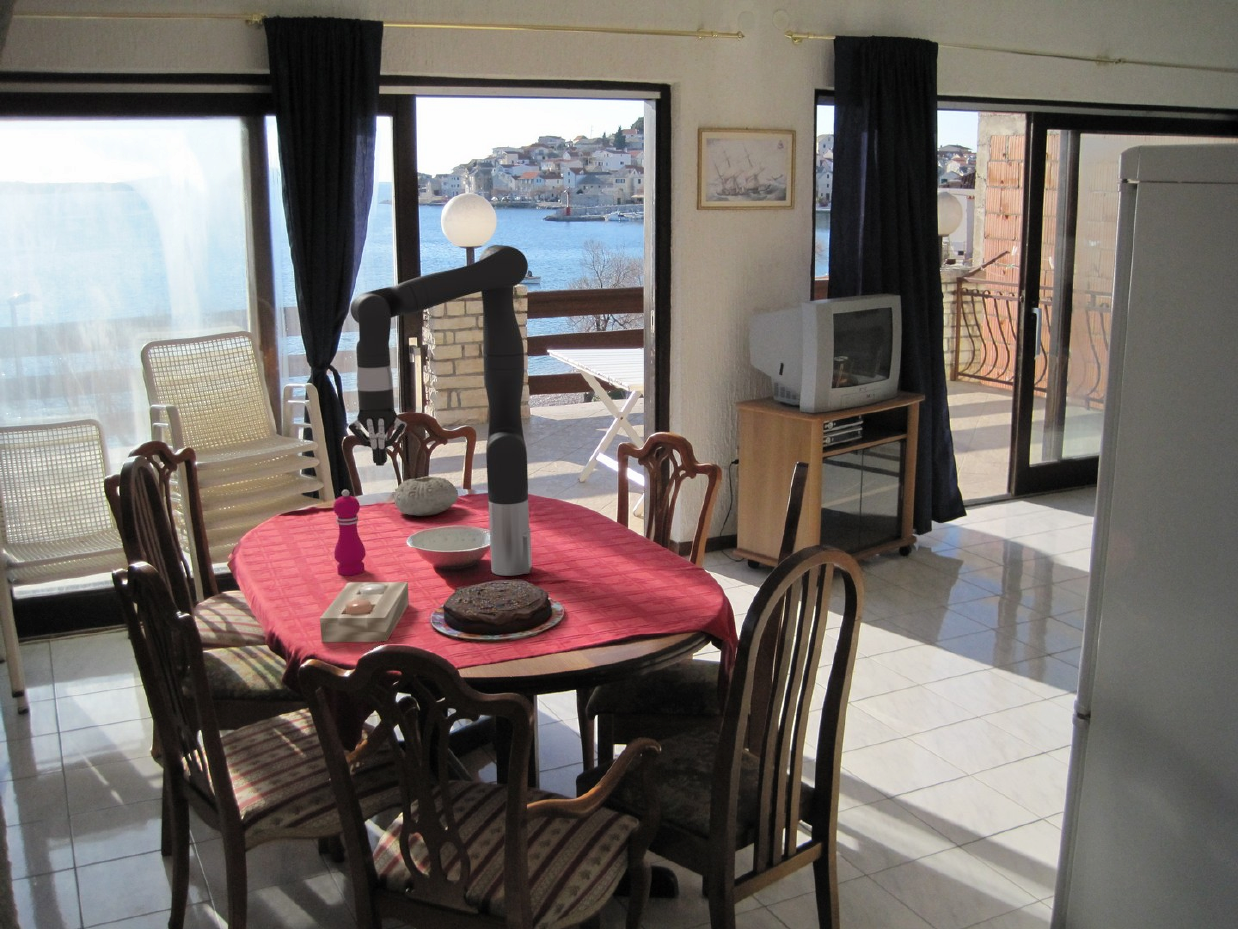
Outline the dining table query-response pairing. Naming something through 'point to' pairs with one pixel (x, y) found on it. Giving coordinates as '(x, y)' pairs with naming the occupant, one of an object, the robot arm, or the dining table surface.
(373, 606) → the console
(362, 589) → the cream button
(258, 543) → the dining table surface
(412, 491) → the decorative shell
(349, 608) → the terracotta button
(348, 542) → the pepper mill
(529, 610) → the chocolate cake
